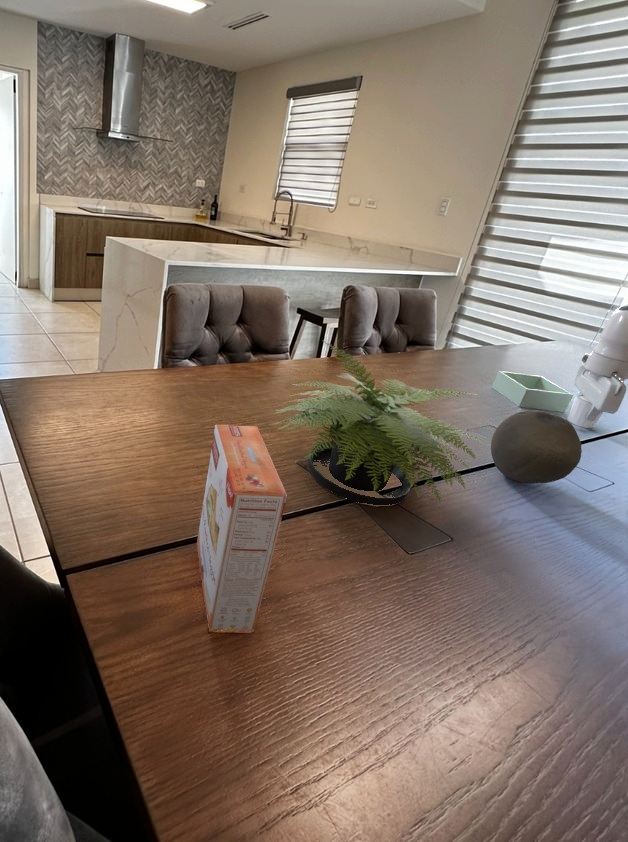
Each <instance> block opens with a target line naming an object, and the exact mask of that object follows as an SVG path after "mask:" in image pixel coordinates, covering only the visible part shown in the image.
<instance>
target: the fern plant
mask: <svg viewBox="0 0 628 842" xmlns="http://www.w3.org/2000/svg"><path fill="white" fill-rule="evenodd" d="M322 342H323V343H324V344H325V345H328V348H330V347H331V348H330V350H332V354H333V355H334V356H335V359H336V360H338V361H341V362H343V363H339V366H340V367H343V368H344V369H343V370H344V371H346V372H347V373H341V374H340V375H337V374H336V375H335V376H336V377H338V378H341V379H343V380H344V379H345V380H346V381H347V380H349V381H353V382H354V383H355V384H356V385H355V386H352V385H351V386H350V385H347V386H345V385H339V384H336V383H334V382H328V381H326V380H323V381H324V382H323V381H320V380H317V381H312V380H309V381H303V382H299V383H292V385H294V386H297V387H298V386H300V387H301V386H303V387H305V386H307V387H309V386H310V388H312V389H313V388H316V390H307V391H306V392H303V391H302V392H299V393H296V394H295V396H297V395H299V396H301V395H302V396H304V397H299V399H293V400H292V401H291V400H289V402H290V403H292V402H293V403H294V402H295V403H296V404H292V405H288V406H285V407H284V408H282V409H277V411H276V414H279V413H284V412H288V411H291V412H292V411H297V412H300V414H299V413H296V414H293V415H292V417H291V416H288V417H285V419H282V420H279V421H278V422H273V425H277V424H282V422H285V423H287V422H288V423H287V424H284V425H283V426H281V427H278V430H283V429H284V430H285V431H290V430H292V431H294V430H296V431H297V430H298V428H300V429H301V428H302V427H303V428H306V427H308V428H307V431H314V430H317V428H318V429H319V430H321V429H322V430H323V431H324V432H319V431H317V436H319V437H317V438H316V439H313V441H314V442H315V443H316V444H315V443H311V444H310V445H311V446H309V448H311V449H310V450H309V451H308V454H307V455H305V456H304V458H303V459H307V458H308V464H307V468H308V467H309V468H308V470H309V469H310V470H309V472H310V471H311V472H310V474H311V477H312V478H313V479H315V481H316V482H318V484H320V486H321V487H323V488H324V487H325V488H327V489H328V490H327V489H326V490H327V491H329V490H330V491H332V492H333V493H332V492H331V493H332V494H334V493H335V494H337V495H338V496H341V497H344V498H347V499H349V500H352V501H354V502H357V503H358V502H359V503H367V504H373V505H389V504H390V505H392V504H396V503H399V502H402V501H403V502H404V501H405V499H406V498H407V496H408V495H409V492H410V491H411V489H412V488H413V490H414V491H415V493H416V495H417V498H420V493H419V492H421V489H420V487H421V486H420V485H418V484H416V483H418V480H419V481H421V480H422V481H423V480H426V481H425V482H424V485H427V489H429V488H430V487H432V488H431V492H432V493H433V495H434V496H436V498H437V500H438V502H439V503H441V499H442V497H441V494H440V493H439V492H440V490H438V489H436V488H437V485H435V486H434V484H435V481H434V480H433V474H432V472H434V473H436V472H437V470H438V475H439V476H440V477H441V478H443V480H444V481H445V483H446V484H447V486H449V485H448V484H450V487H451V488H452V487H453V484H454V478H455V481H456V482H458V483H459V484H460V485H461V486H462V487H463V488H464V490H465V491H466V487H465V486H466V485H465V481H464V479H463V477H462V476H460V475H461V473H458V470H457V469H455V467H454V465H453V464H452V463H451V461H450V460H453V458H454V461H457V463H461V465H463V466H465V467H466V468H467V469H468V470H469V471H471V469H470V468H469V466H468V465H467V464H466V463H465V462H464V461H463V459H460V457H458V456H457V454H455V453H454V452H453V451H452V450H454V448H453V447H455V448H457V450H459V448H460V449H461V450H462V451H463V452H466V454H469V455H470V456H471V457H472V458H473V459H474V460H476V459H477V457H476V455H475V453H474V452H473V449H472V448H469V447H468V445H465V442H464V441H463V440H462V439H461V438H462V437H463V435H464V436H465V437H466V439H470V440H474V441H477V442H479V443H481V444H483V445H485V446H487V444H486V443H484V442H483V441H482V440H480V439H478V438H477V436H475V437H473V434H469V433H467V432H464V431H463V430H462V429H461V428H459V427H457V426H456V425H454V426H450V425H451V423H449V422H444V421H442V420H440V419H438V418H432V417H430V416H431V415H429V414H423V412H422V410H419V411H418V408H416V409H412V407H411V406H413V407H414V406H415V405H419V403H425V402H427V401H431V400H432V399H433V400H437V401H438V400H441V398H447V399H449V398H450V397H458V398H459V396H466V395H468V396H473V395H474V396H477V393H471V392H467V391H465V392H464V391H461V390H460V391H459V390H452V389H451V390H450V389H446V388H443V390H442V391H441V392H440V388H434V389H432V390H431V391H429V389H428V388H425V387H424V388H423V389H421V388H416V387H414V388H413V387H411V386H408V388H407V386H406V383H405V382H403V381H400V380H398V379H389V378H388V379H384V380H379V381H378V383H379V384H380V385H381V387H380V386H379V385H377V387H378V388H375V386H376V385H375V384H376V383H375V382H376V381H375V380H376V378H370V376H371V375H372V374H371V372H367V367H365V364H363V365H361V366H360V364H361V363H362V362H361V360H359V359H353V354H350V353H346V351H345V350H344V349H339V347H338V346H336V345H334V346H332V344H331V343H329V342H326V341H325V340H322ZM336 356H338V357H336ZM353 375H354V376H353ZM369 378H370V379H369ZM382 386H383V387H382ZM325 387H327V388H325ZM379 388H380V389H379ZM322 390H323V391H322ZM354 391H355V392H354ZM356 392H358V393H356ZM305 395H306V396H305ZM307 395H309V396H310V397H307ZM292 396H293V394H291V395H290V397H292ZM313 396H314V397H313ZM440 397H441V398H440ZM285 403H287V401H285V402H284V404H285ZM412 403H413V404H412ZM414 404H415V405H414ZM404 406H407V407H404ZM409 406H410V407H409ZM426 416H429V417H426ZM289 425H290V427H289ZM327 426H328V427H327ZM449 426H450V427H449ZM320 427H321V428H320ZM440 436H441V438H440ZM450 442H451V444H452V445H453V447H452V446H451V445H450ZM467 447H468V448H467ZM451 449H452V450H451ZM448 457H449V458H448ZM329 459H330V460H329ZM314 460H316V461H314ZM317 460H321V461H320V462H321V464H324V465H322V466H325V467H327V465H325V463H326V464H328V463H330V464H329V471H330V473H331V474H332V476H333V477H334V478H335V479H337V480H338V481H339V482H341V483H343V484H344V485H346V486H348V487H351V488H354V489H357V490H364V491H379V490H382V489H383V488H384V487H385V486H386V484H387V482H388V480H389V478H390V476H391V474H392V473H393V474H394V475H396V477H397V478H398V479H399V480H400V482H401V483H402V487H401V488H399V489H396V490H395V491H392V492H393V494H392V492H390V493H387V496H390V495H392V497H393V496H394V497H395V498H394V497H393V498H375V497H370V496H365V495H360V494H357V493H354V492H352V491H349V490H346V489H344V488H341V487H339V486H338V485H336V484H334V483H333V482H331V481H329V480H328V479H326V478H325V477H324V476H323V475H322V474H321V473H320V472H319V471H317V470H316V469H315V467H314V466H317V465H313V462H319V461H317ZM324 461H325V462H324ZM327 461H330V462H327ZM429 464H431V466H430V465H429ZM421 467H422V468H421ZM423 467H424V468H423ZM426 468H429V469H431V470H428V469H426ZM433 468H434V471H433ZM454 469H455V470H454ZM415 472H417V473H416V476H415ZM416 478H418V479H416ZM416 480H417V481H416ZM325 488H324V489H325ZM330 491H329V492H330ZM335 494H334V495H335ZM337 495H336V496H337ZM338 496H337V497H338ZM341 497H340V498H341ZM405 497H406V498H405ZM344 498H343V499H344ZM349 500H348V501H349ZM354 502H353V503H354ZM403 502H402V503H403ZM399 504H400V503H399Z"/></svg>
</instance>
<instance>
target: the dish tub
mask: <svg viewBox="0 0 628 842" xmlns="http://www.w3.org/2000/svg"><path fill="white" fill-rule="evenodd" d="M491 388H492V389H494V390H495V391H496V392H497V393H499V394H500V395H502V396H503V397H505V398H506V399H507V400H509V401H511V403H512V404H514V405H516V406H517V407H518V408H525V409H526V408H527V409H533V410H542V411H553V412H559V413H560V412H561V413H566V411H567V409H568V407H569V405H570V402H571V401H572V399H573V397H574V394H573V393H571V392H570V391H568V390H566V389H565V388H563V387H561V386H560V385H558V384H556V383H554V382H552V381H551V380H549V379H547V378H546V377H544V376H542V375H535V374H527V373H519V372H510V371H504V370H503V371H501V370H498V372H497V374H496V377H495V379H494V381H493V384H492V386H491Z"/></svg>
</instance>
